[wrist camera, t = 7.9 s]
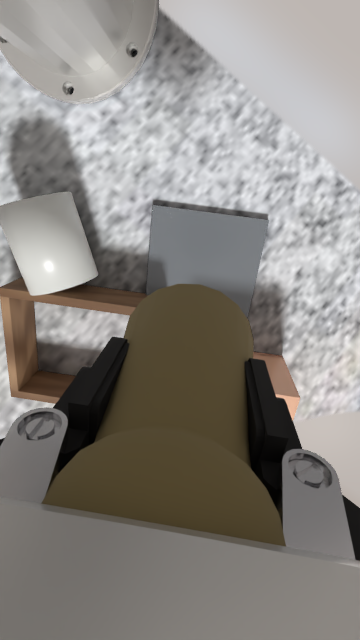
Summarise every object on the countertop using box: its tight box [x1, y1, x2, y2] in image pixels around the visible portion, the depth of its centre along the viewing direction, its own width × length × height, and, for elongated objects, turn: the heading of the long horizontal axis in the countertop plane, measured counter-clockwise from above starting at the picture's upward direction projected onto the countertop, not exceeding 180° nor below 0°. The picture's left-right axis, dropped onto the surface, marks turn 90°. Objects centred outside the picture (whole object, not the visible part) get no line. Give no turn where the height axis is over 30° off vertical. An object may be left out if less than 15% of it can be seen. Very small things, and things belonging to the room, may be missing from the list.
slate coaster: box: [146, 205, 269, 319], centre depth 29 cm, size 10×10×1 cm
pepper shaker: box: [41, 284, 286, 547], centre depth 10 cm, size 6×6×11 cm
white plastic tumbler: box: [0, 192, 98, 296], centre depth 27 cm, size 7×6×6 cm
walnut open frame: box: [0, 277, 149, 404], centre depth 31 cm, size 12×15×4 cm
